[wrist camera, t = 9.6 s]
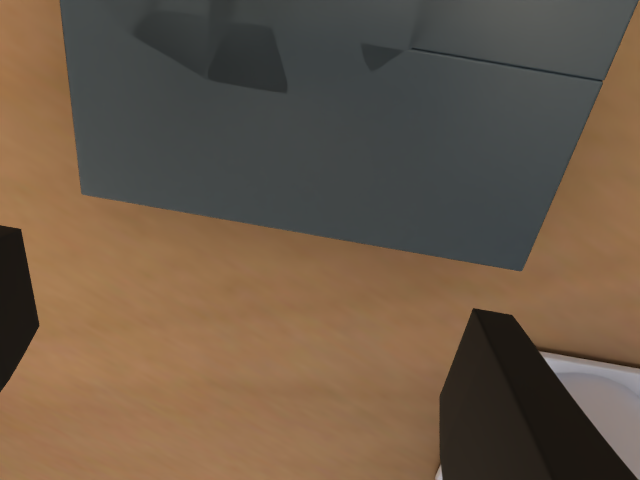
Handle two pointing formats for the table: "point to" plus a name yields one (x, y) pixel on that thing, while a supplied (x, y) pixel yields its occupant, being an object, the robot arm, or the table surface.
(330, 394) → the table surface
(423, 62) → the hole board
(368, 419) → the table surface
